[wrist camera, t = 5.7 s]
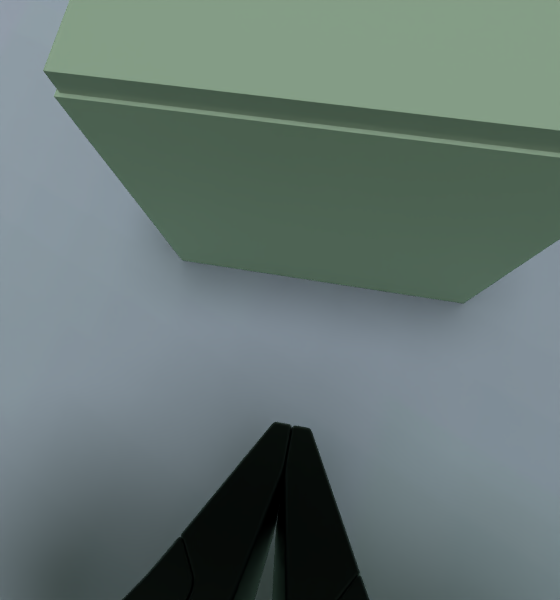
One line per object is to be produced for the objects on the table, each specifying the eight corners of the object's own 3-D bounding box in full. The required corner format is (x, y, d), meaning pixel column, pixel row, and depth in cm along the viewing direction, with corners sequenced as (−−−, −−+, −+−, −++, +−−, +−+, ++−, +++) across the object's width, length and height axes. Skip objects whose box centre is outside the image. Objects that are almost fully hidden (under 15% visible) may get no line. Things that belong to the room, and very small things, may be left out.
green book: (463, 303, 17) (691, 150, 7) (182, 260, 19) (36, 74, 8) (472, 175, 19) (673, -103, 9) (211, 142, 20) (118, -140, 10)
